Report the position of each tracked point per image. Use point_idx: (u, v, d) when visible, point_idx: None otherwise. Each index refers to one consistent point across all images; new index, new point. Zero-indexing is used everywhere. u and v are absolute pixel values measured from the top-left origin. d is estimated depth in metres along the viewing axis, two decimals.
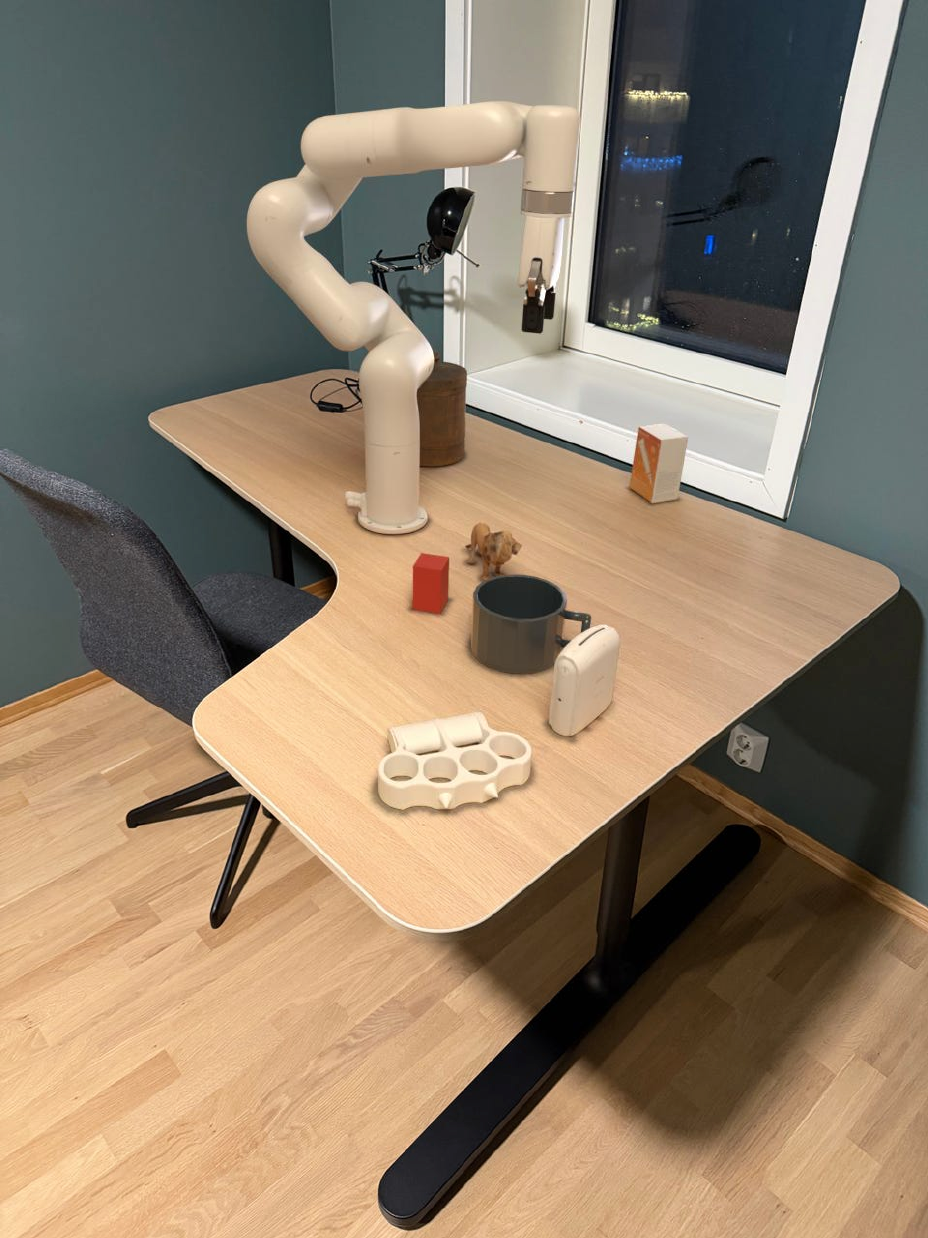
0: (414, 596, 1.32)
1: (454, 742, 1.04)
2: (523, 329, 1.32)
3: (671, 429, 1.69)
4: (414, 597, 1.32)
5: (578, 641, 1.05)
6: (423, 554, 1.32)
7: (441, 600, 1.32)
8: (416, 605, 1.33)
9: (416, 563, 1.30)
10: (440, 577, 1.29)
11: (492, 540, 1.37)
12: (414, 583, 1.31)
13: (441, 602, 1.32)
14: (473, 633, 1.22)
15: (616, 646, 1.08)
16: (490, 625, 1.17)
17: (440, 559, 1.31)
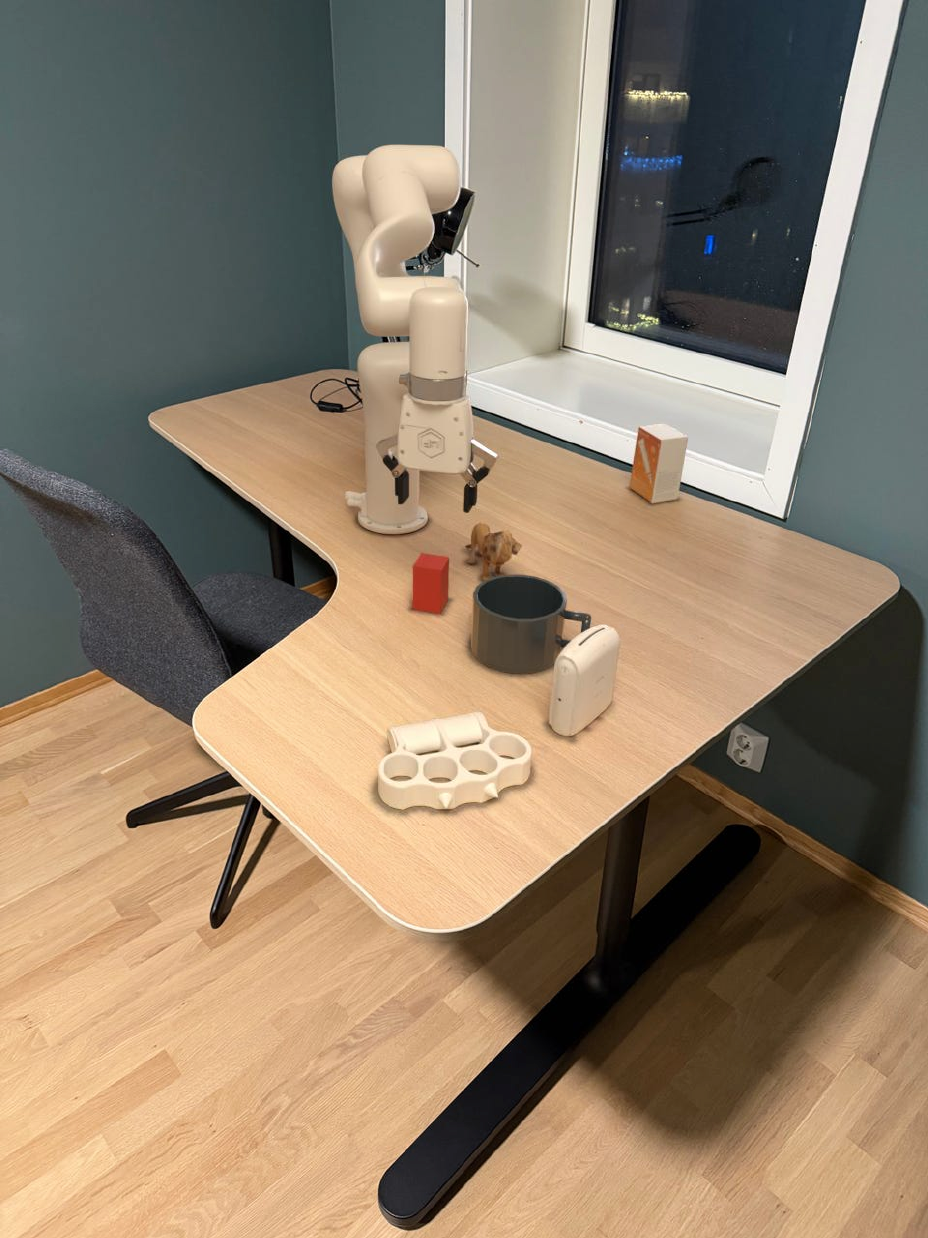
0: (414, 596, 1.32)
1: (454, 742, 1.04)
2: (468, 510, 1.24)
3: (671, 429, 1.69)
4: (414, 597, 1.32)
5: (578, 641, 1.05)
6: (423, 554, 1.32)
7: (441, 600, 1.32)
8: (416, 605, 1.33)
9: (416, 563, 1.30)
10: (440, 577, 1.29)
11: (492, 540, 1.37)
12: (414, 583, 1.31)
13: (441, 602, 1.32)
14: (473, 633, 1.22)
15: (616, 646, 1.08)
16: (490, 625, 1.17)
17: (440, 559, 1.31)
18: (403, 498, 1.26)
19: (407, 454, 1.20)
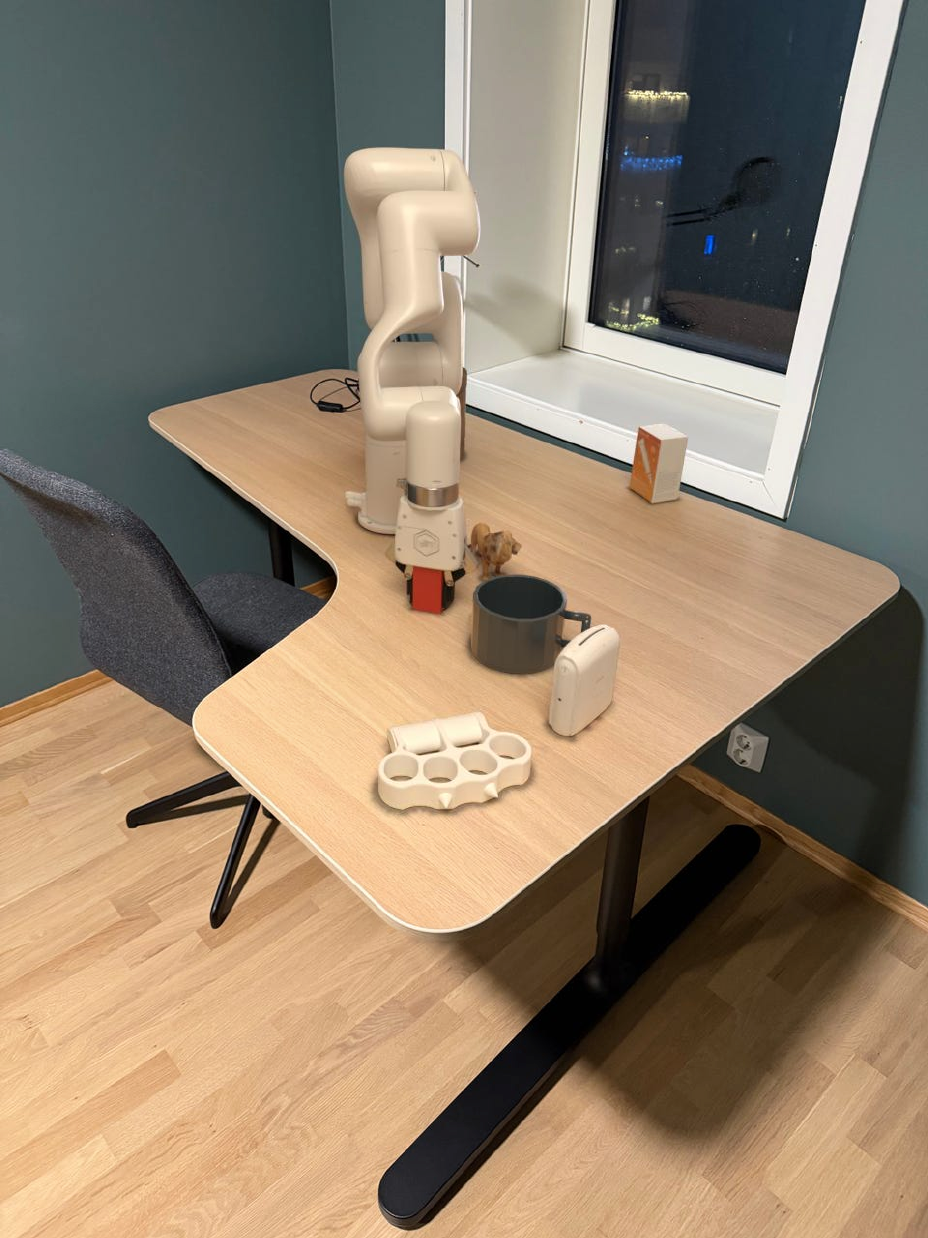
0: (414, 596, 1.32)
1: (454, 742, 1.04)
2: (446, 606, 1.32)
3: (671, 429, 1.69)
4: (414, 597, 1.32)
5: (578, 641, 1.05)
6: None
7: (441, 600, 1.32)
8: (416, 605, 1.33)
9: None
10: (440, 577, 1.29)
11: (492, 540, 1.37)
12: (414, 583, 1.31)
13: (441, 602, 1.32)
14: (473, 633, 1.22)
15: (616, 646, 1.08)
16: (490, 625, 1.17)
17: None
18: None
19: (404, 551, 1.28)
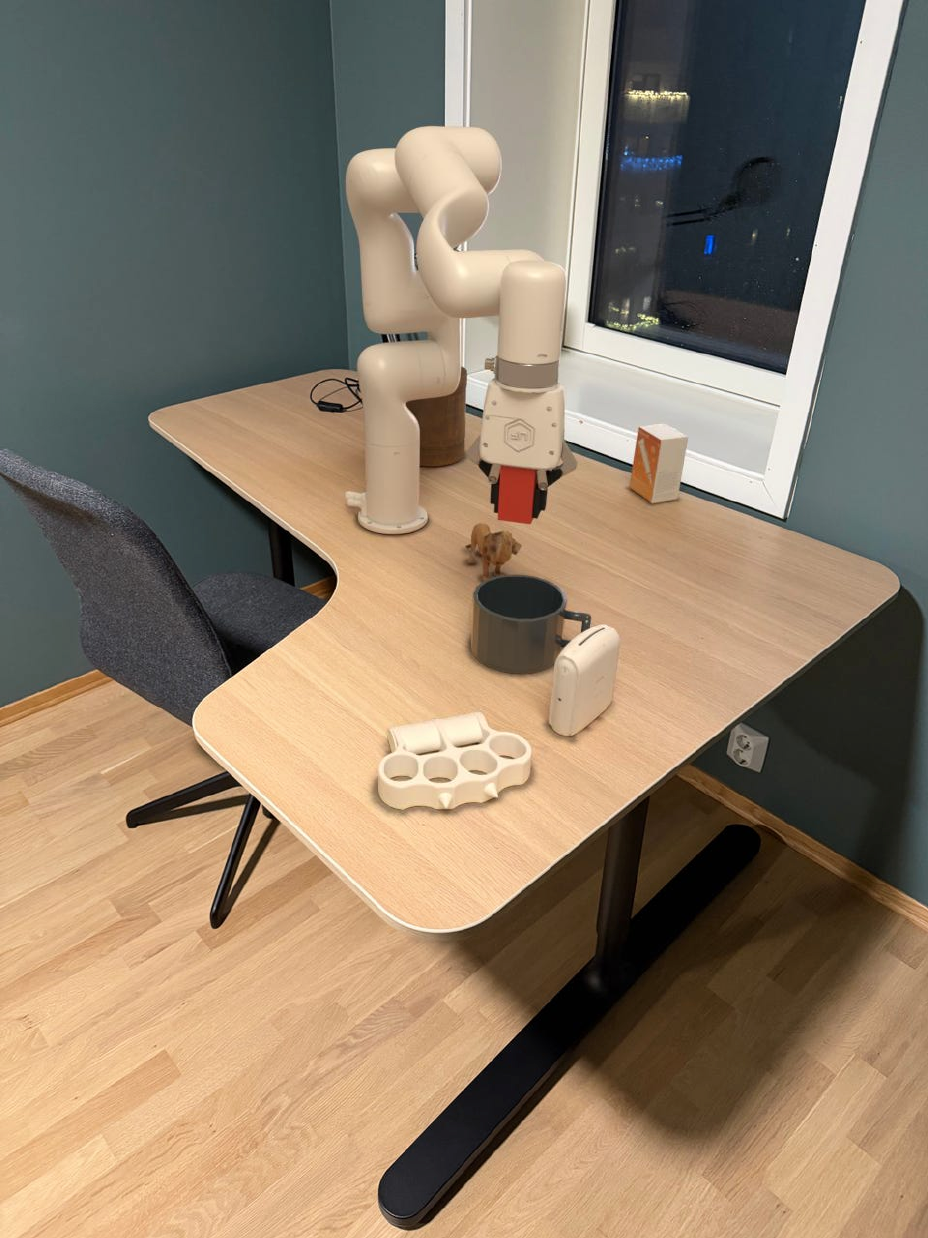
0: (500, 503, 1.13)
1: (454, 742, 1.04)
2: (537, 516, 1.13)
3: (671, 429, 1.69)
4: (500, 505, 1.13)
5: (578, 641, 1.05)
6: None
7: (532, 508, 1.12)
8: (501, 515, 1.13)
9: None
10: (533, 478, 1.10)
11: (492, 540, 1.37)
12: (501, 487, 1.11)
13: (532, 510, 1.12)
14: (473, 633, 1.22)
15: (616, 646, 1.08)
16: (490, 625, 1.17)
17: None
18: None
19: (491, 447, 1.08)
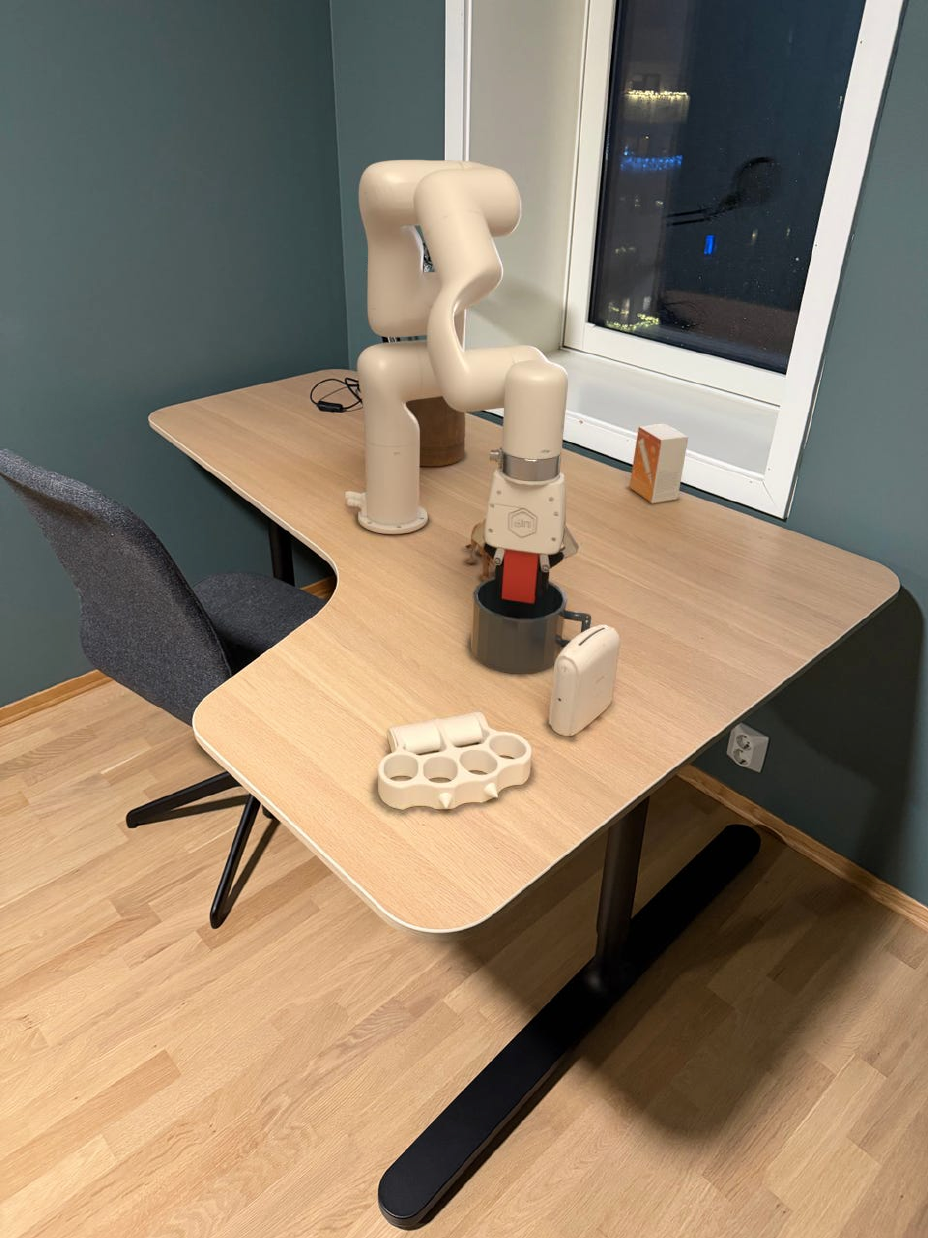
0: (504, 584, 1.17)
1: (454, 742, 1.04)
2: (540, 595, 1.18)
3: (671, 429, 1.69)
4: (504, 585, 1.18)
5: (578, 641, 1.05)
6: None
7: (535, 588, 1.17)
8: (505, 594, 1.18)
9: None
10: (536, 562, 1.15)
11: None
12: (505, 569, 1.16)
13: (535, 590, 1.17)
14: (473, 633, 1.22)
15: (616, 646, 1.08)
16: (490, 625, 1.17)
17: None
18: None
19: (496, 532, 1.13)
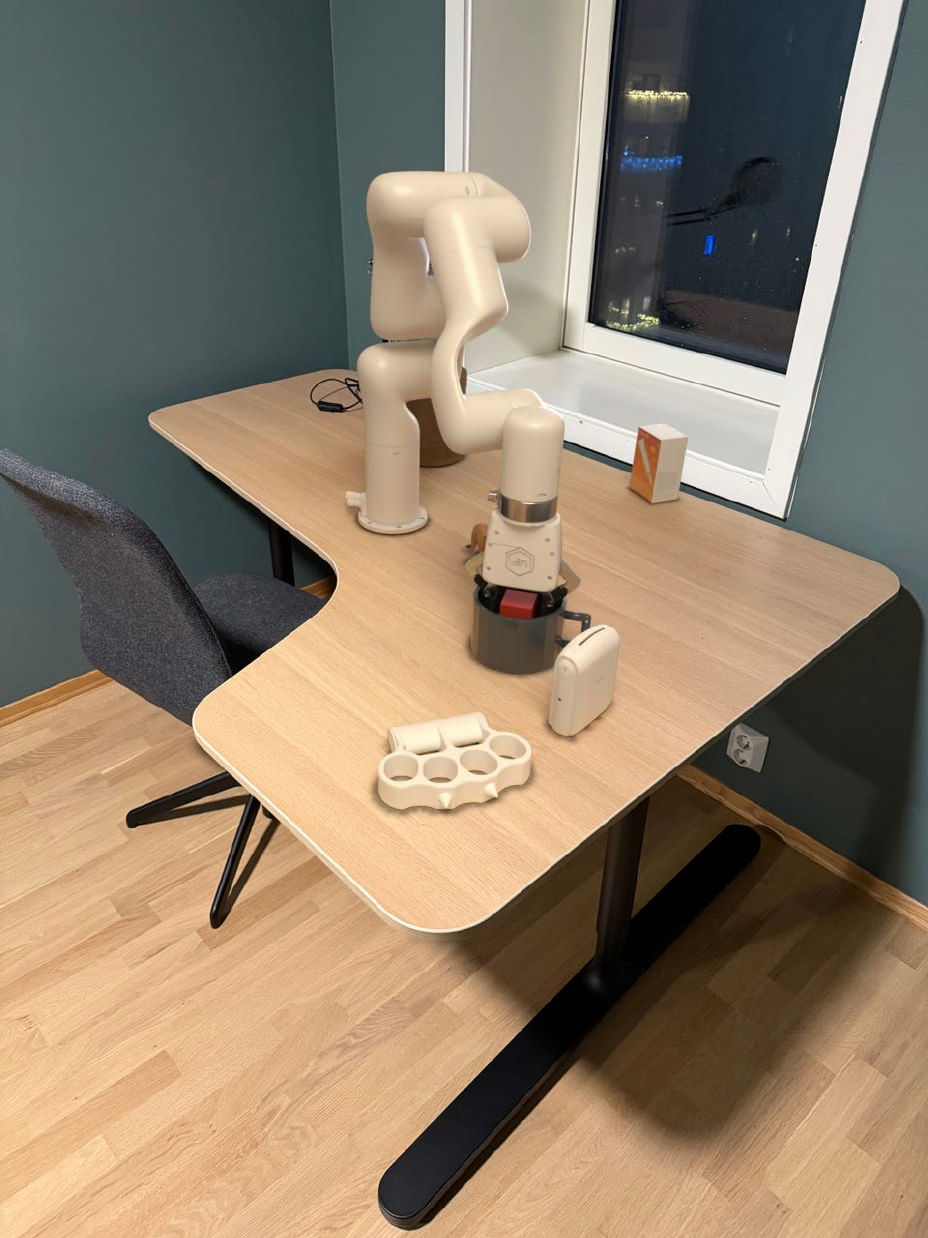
0: None
1: (454, 742, 1.04)
2: None
3: (671, 429, 1.69)
4: None
5: (578, 641, 1.05)
6: (509, 591, 1.23)
7: None
8: None
9: (503, 601, 1.20)
10: (530, 617, 1.19)
11: None
12: None
13: None
14: (473, 633, 1.22)
15: (616, 646, 1.08)
16: (490, 625, 1.17)
17: (529, 597, 1.21)
18: None
19: (494, 570, 1.17)
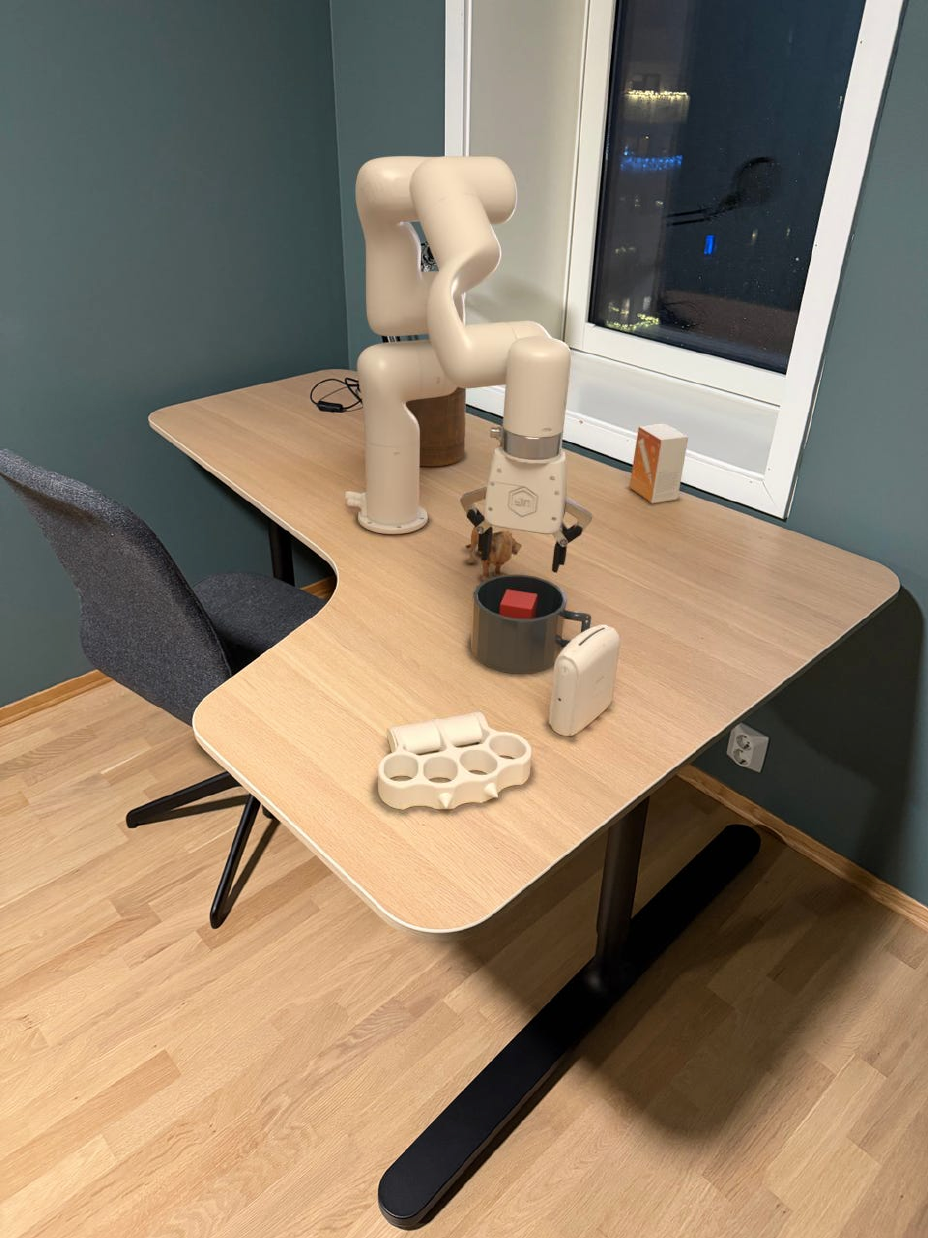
0: None
1: (454, 742, 1.04)
2: (557, 570, 1.16)
3: (671, 429, 1.69)
4: None
5: (578, 641, 1.05)
6: (509, 591, 1.23)
7: None
8: None
9: (503, 601, 1.20)
10: (530, 617, 1.19)
11: (492, 540, 1.37)
12: None
13: None
14: (473, 633, 1.22)
15: (616, 646, 1.08)
16: (490, 625, 1.17)
17: (529, 597, 1.21)
18: (486, 555, 1.18)
19: (496, 511, 1.12)
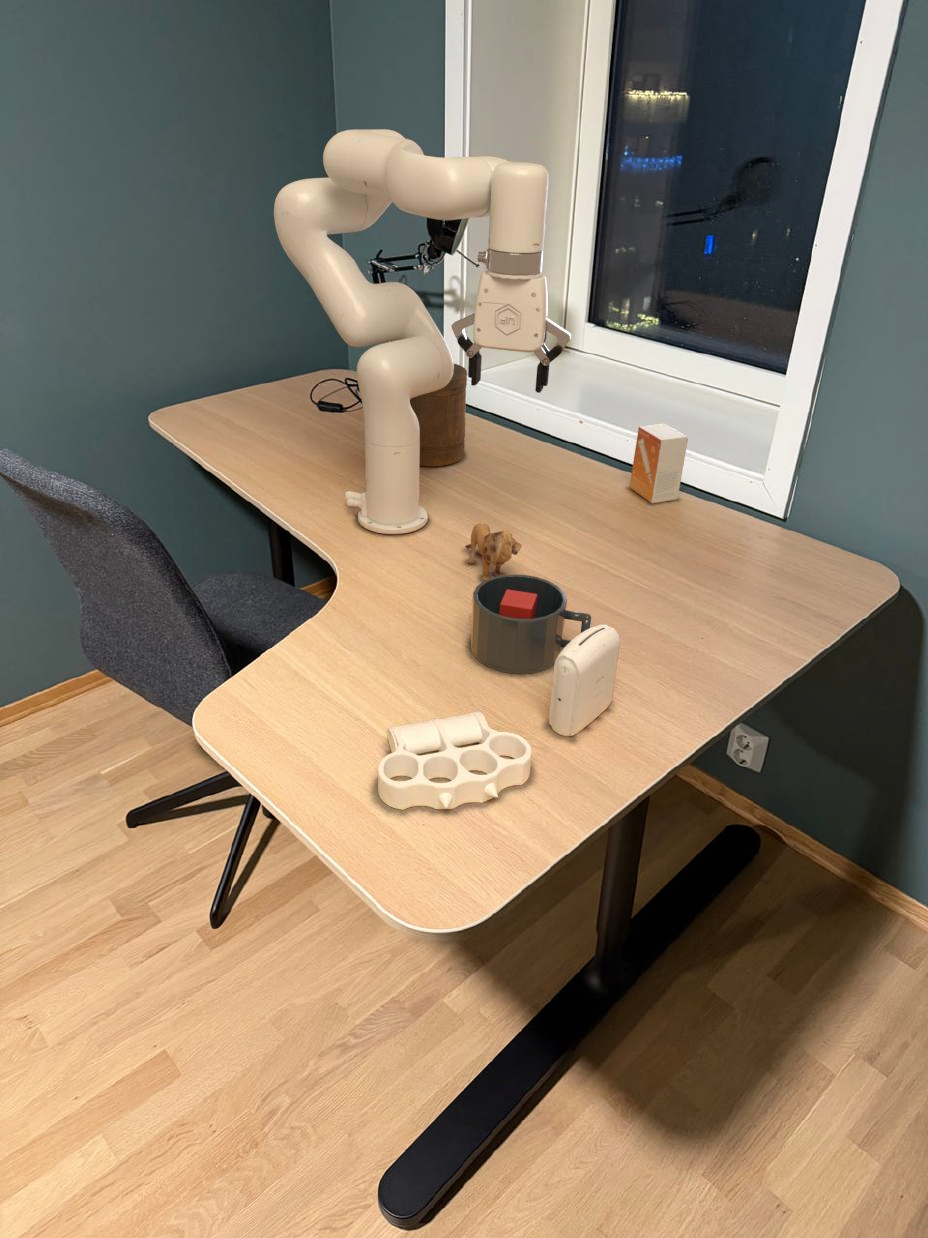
0: None
1: (454, 742, 1.04)
2: (540, 390, 1.28)
3: (671, 429, 1.69)
4: None
5: (578, 641, 1.05)
6: (509, 591, 1.23)
7: None
8: None
9: (503, 601, 1.20)
10: (530, 617, 1.19)
11: (492, 540, 1.37)
12: None
13: None
14: (473, 633, 1.22)
15: (616, 646, 1.08)
16: (490, 625, 1.17)
17: (529, 597, 1.21)
18: (476, 379, 1.29)
19: (484, 331, 1.24)
